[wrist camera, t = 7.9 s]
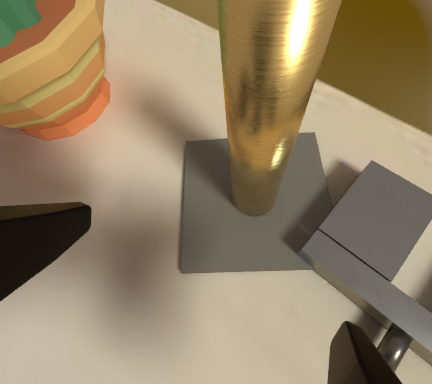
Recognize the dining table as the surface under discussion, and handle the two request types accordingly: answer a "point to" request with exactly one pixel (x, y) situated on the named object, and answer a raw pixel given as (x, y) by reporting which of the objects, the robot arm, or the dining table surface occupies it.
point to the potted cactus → (52, 66)
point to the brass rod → (268, 87)
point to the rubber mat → (247, 225)
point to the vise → (376, 255)
